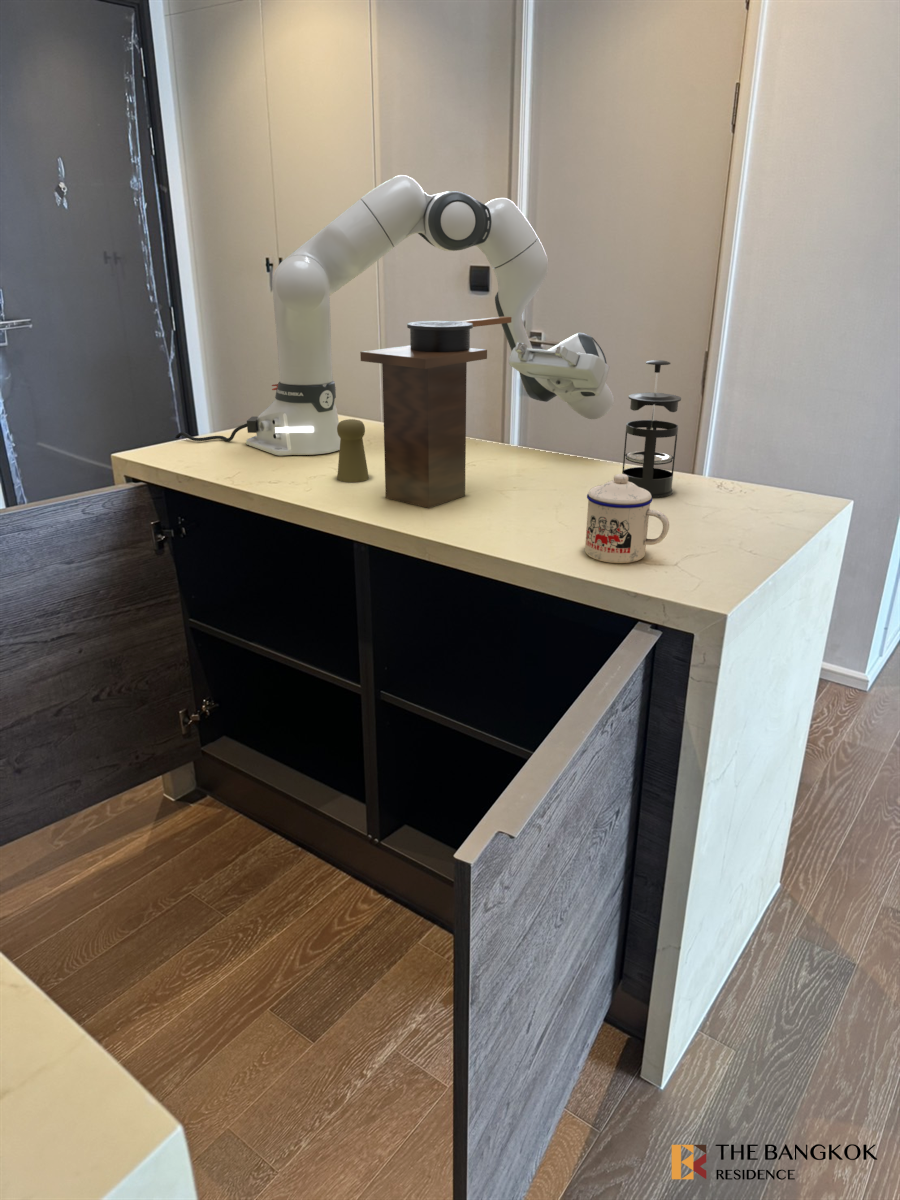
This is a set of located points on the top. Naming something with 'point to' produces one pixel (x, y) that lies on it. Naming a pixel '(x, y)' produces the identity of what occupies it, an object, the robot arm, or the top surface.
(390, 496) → the stand
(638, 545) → the teacup with lid
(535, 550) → the top surface
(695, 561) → the top surface
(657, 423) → the french press
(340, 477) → the cork
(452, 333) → the saucepan
